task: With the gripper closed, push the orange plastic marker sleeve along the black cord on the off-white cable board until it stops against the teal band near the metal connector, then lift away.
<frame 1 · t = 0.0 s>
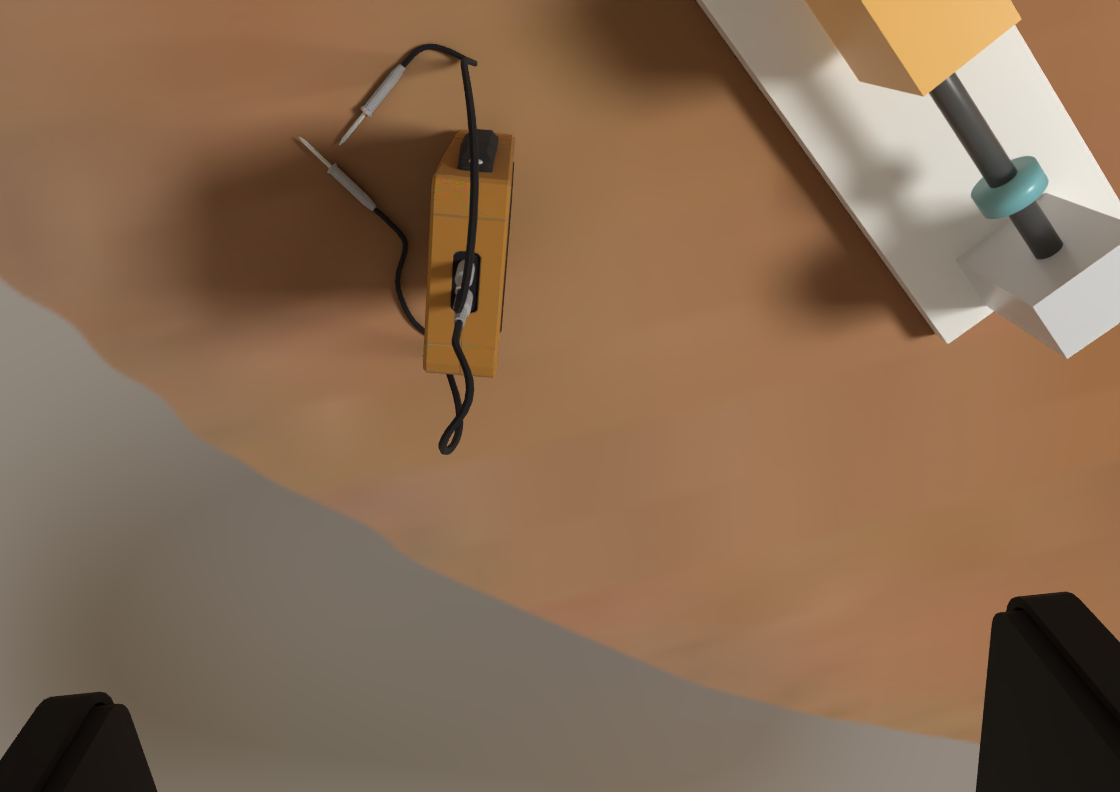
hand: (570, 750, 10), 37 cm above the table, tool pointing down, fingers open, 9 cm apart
multimeter: (406, 201, 45), on the table
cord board: (876, 54, 43), on the table
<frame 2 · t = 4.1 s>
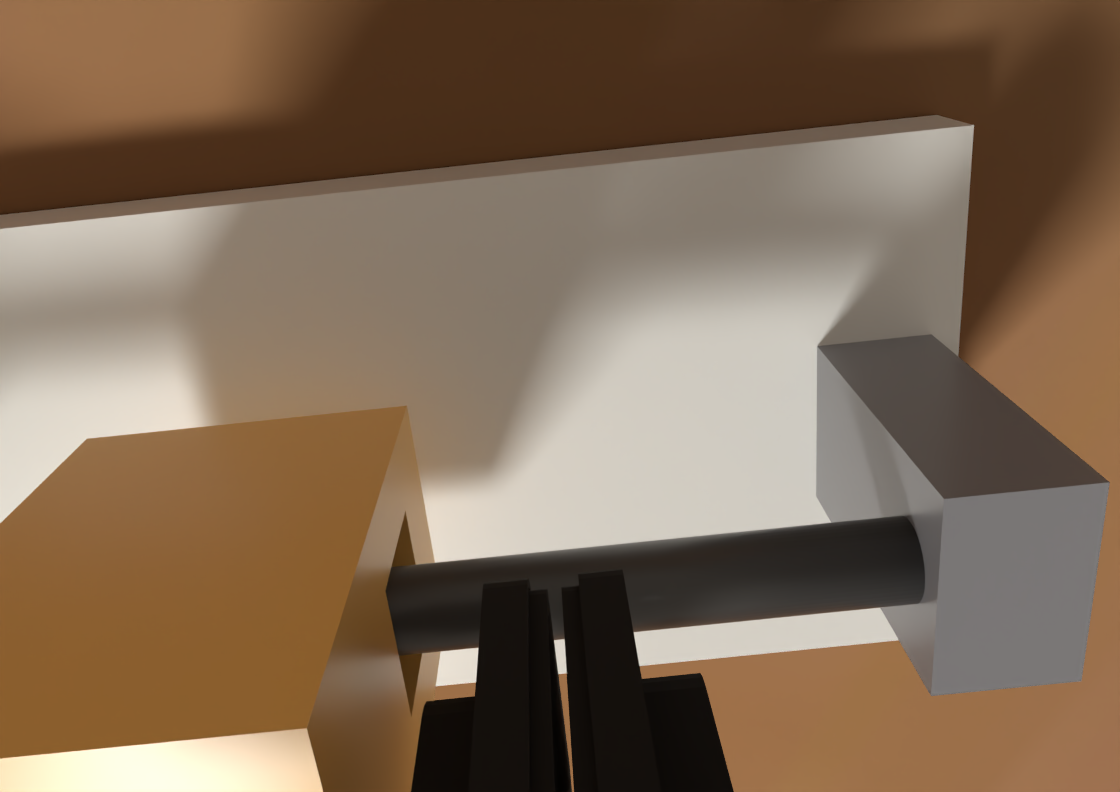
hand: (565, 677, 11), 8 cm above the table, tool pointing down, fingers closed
sleeve: (205, 675, 12), point 7 cm above the table, slide at 1.4 cm, touching gripper
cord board: (238, 449, 19), on the table
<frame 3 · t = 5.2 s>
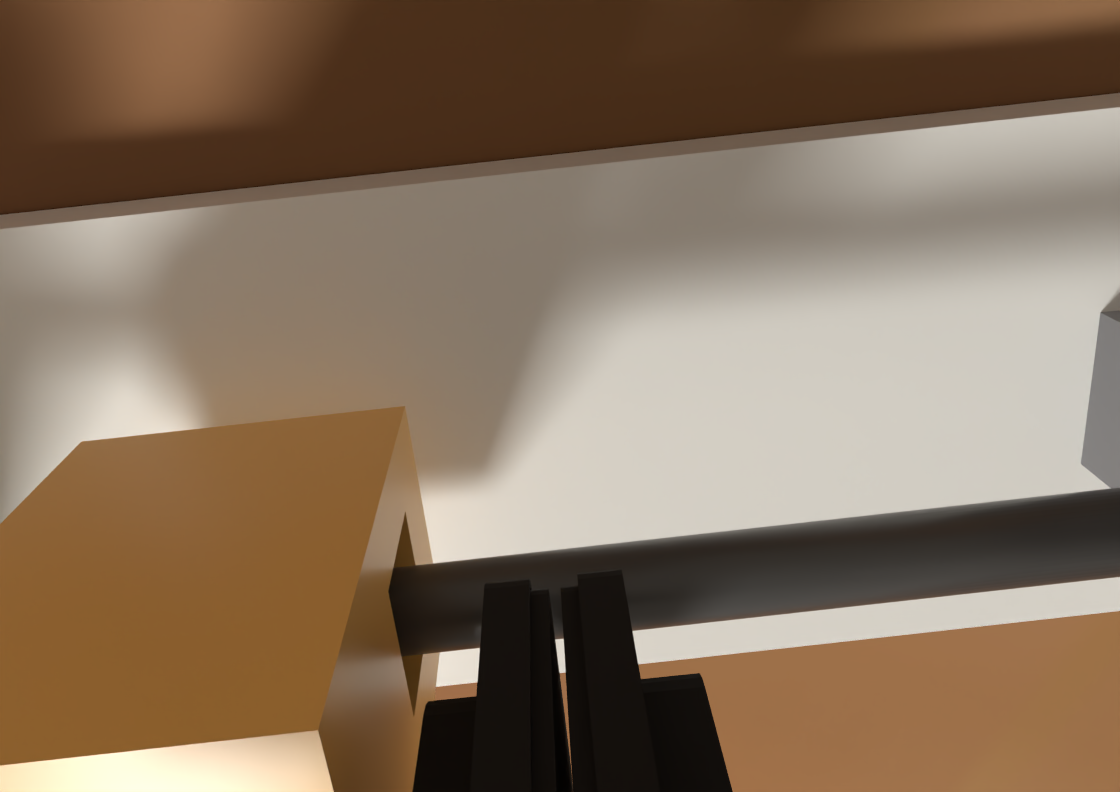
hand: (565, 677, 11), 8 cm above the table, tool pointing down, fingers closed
sleeve: (206, 678, 12), point 7 cm above the table, slide at 6.5 cm, touching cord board, gripper
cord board: (491, 422, 18), on the table
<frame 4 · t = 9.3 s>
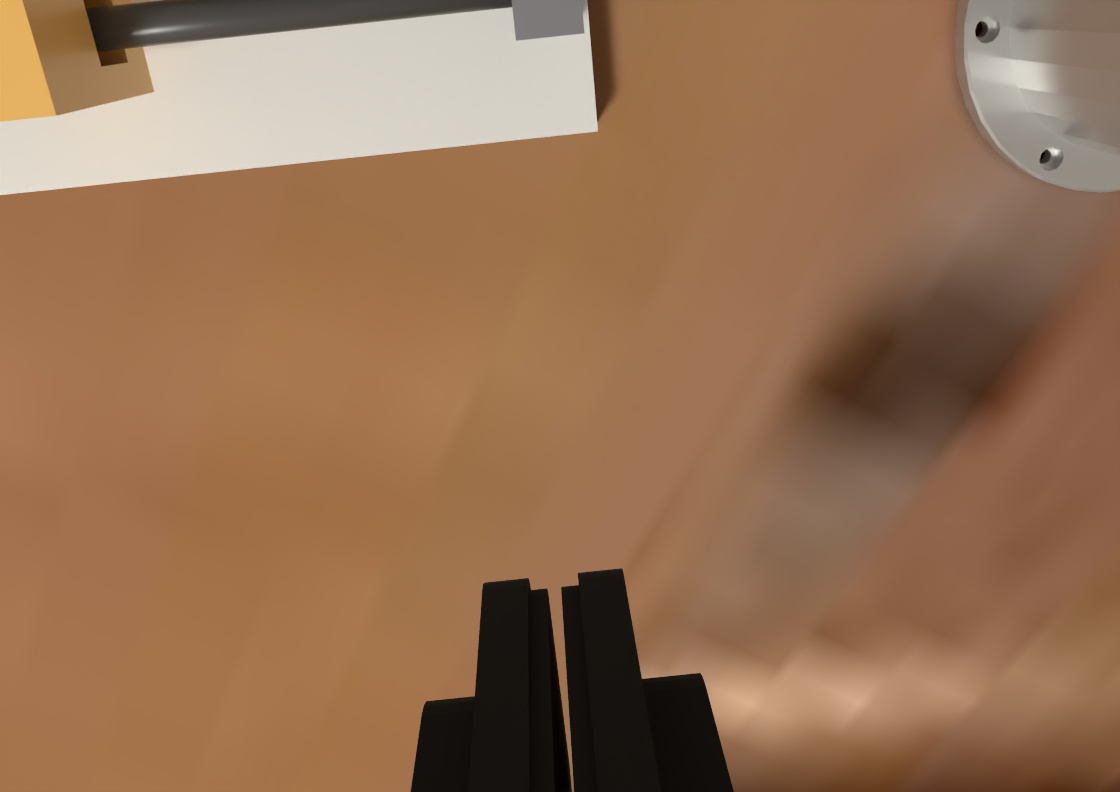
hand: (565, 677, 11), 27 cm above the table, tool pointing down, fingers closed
sleeve: (4, 39, 27), point 7 cm above the table, slide at 6.5 cm, touching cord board
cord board: (203, 21, 33), on the table
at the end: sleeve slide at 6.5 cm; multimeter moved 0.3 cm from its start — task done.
